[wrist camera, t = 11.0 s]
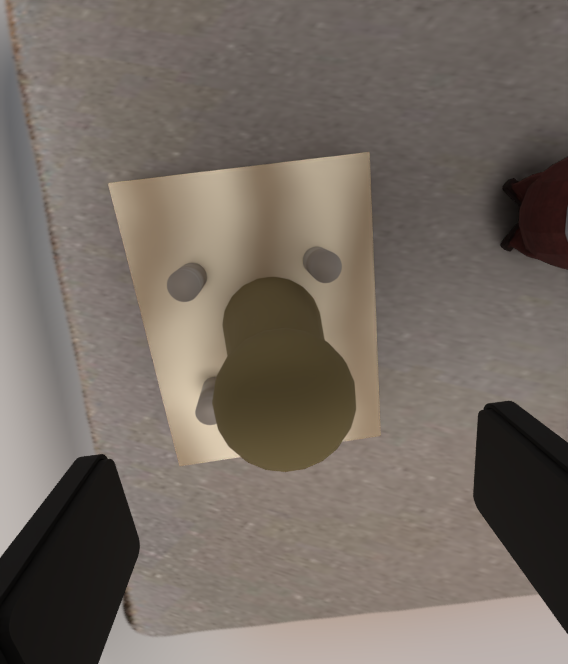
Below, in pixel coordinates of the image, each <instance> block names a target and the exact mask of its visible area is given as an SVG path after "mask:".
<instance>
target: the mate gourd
mask: <svg viewBox="0 0 568 664" xmlns="http://www.w3.org/2000/svg"><path fill="white" fill-rule="evenodd" d="M503 190H504V191H505V192H506V193H507V194H508V195H509V196H510V197H511V198H512V199H513V200H514V201H515V202H516V203H517V204H518V205H519V206H520V209H519V222H518V223H517V224H516V226H515V227H514V228H513V229H512V230H511V231H510V233H509V234H508V235H507V236H506V237H505V238H504V240H503V241H502V242H501V244H500V245H501V247H502V248H503V249H504V250H507V251H511V250H512V249H513V248H515V249H517V250H518V251H519V252H521V253H523V254H524V255H526V256H528V257H531V258H535V259H538V260H541V261H543V262H546V263H548V264H550V265H553V266H556V267H560V268H563V269H567V270H568V157H566V158H565V159H563V160H561V161H559V162H557V163H555V164H553V165H552V166H550V167H549V168H548V169H546V170H545V171H544V172H540V173H537V174H533V175H531V176H529V177H527V178H525V179H523V180H521V181H519V182H518V181H517V180H516V179H515V178H513V179H510V180H508V181H507V182H506V183H505V184H504V186H503Z"/></svg>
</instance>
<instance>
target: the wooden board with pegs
mask: <svg viewBox="0 0 568 664" xmlns="http://www.w3.org/2000/svg"><path fill="white" fill-rule="evenodd" d="M108 185H109V189H110V193H111V197H112V201H113V205H114V209H115V213H116V217H117V221H118V225H119V229H120V232H121V236H122V240H123V244H124V248H125V252H126V256H127V260H128V264H129V268H130V272H131V276H132V280H133V284H134V288H135V292H136V296H137V300H138V304H139V308H140V312H141V316H142V320H143V324H144V327H145V331H146V335H147V339H148V343H149V347H150V351H151V355H152V359H153V363H154V367H155V371H156V375H157V379H158V383H159V387H160V391H161V395H162V399H163V403H164V407H165V411H166V415H167V419H168V422H169V426H170V430H171V434H172V438H173V442H174V446H175V450H176V454H177V458H178V462H179V466H184V465H191V464H197V463H204V462H211V461H217V460H224V459H230V458H237V457H240V456H239V455H238V454H237V453H236V452H234V451H233V450H232V449H231V448H229V447H228V445H227V443H226V442H225V440H224V439H223V437H222V435H221V434H220V432H219V430H218V427H217V424H216V419H215V414H214V410H213V405H212V400H213V393H214V387H215V381H216V377H217V374H218V372H219V371H220V369H221V367H222V365H223V363H224V361H225V360H226V358H227V351H226V345H225V338H224V332H223V326H222V324H223V318H224V311H225V309H226V307H227V305H228V303H229V301H230V299H231V297H232V296H233V295H234V294H235V293H236V292H237V291H238V290H239V289H240V288H241V287H242V286H243V285H245V284H248V283H250V282H252V281H254V280H256V279H259V278H266V277H279V278H284V279H290V280H291V281H293V282H295V283H297V284H299V285H301V286H302V287H304V288H305V289H306V290H307V292H308V293H309V294H310V295H311V296H312V297H313V298H314V300H315V302H316V305H317V307H318V309H319V311H320V316H321V322H322V328H323V333H324V339H325V341H327V342H328V343H329V344H330V345H331V346H332V347H333V348H334V349H335V350H336V351H337V352H338V353H339V354H340V355H341V356H342V358H343V359H344V360H345V362H346V364H347V366H348V368H349V370H350V373H351V375H352V377H353V379H354V382H355V395H356V413H355V416H354V420H353V423H352V427H351V429H350V431H349V432H348V434H347V435H346V436H345V438H344V439H343V441H350V440H356V439H363V438H369V437H376V436H381V432H380V406H379V381H378V355H377V330H376V304H375V279H374V253H373V228H372V202H371V177H370V152H365V153H357V154H348V155H340V156H332V157H323V158H315V159H306V160H298V161H290V162H281V163H273V164H264V165H256V166H248V167H239V168H231V169H222V170H214V171H206V172H197V173H189V174H181V175H172V176H164V177H155V178H147V179H139V180H130V181H122V182H113V183H108ZM343 441H342V442H343Z"/></svg>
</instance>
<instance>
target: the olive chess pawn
mask: <svg viewBox="0 0 568 664" xmlns="http://www.w3.org/2000/svg"><path fill="white" fill-rule="evenodd" d="M222 326H223V332H224V338H225V345H226V351H227V358H226V360H225V361H224V363H223V365H222V367H221V369H220V371H219V372H218V374H217V377H216V381H215V387H214V393H213V400H212V405H213V410H214V414H215V419H216V424H217V427H218V430H219V432H220V434H221V435H222V437H223V439H224V440H225V442H226V443H227V445H228V447H229V448H231V449H232V450H233V451H234V452H236V453H237V454H238V455H239V456H240V457H242V458H243V459H244V460H245V461H247V462H248V463H251V464H253V465H255V466H258V467H260V468H263V469H265V470H272V471H281V472H288V471H295V470H301V469H306V468H308V467H310V466H312V465H315V464H317V463H319V462H321V461H323V460H324V459H325V458H327V457H328V456H329V455H330V454H332V453H333V452H334V451H335V450H336V449H337V448H338V447H339V445H340V444H341V442H342V441H343V439H344V438H345V436H346V435H347V434H348V432H349V431H350V429H351V427H352V423H353V420H354V416H355V413H356V395H355V382H354V379H353V377H352V375H351V373H350V370H349V368H348V366H347V364H346V362H345V360H344V359H343V358H342V356H341V355H340V354H339V353H338V352H337V351H336V350H335V349H334V348H333V347H332V346H331V345H330V344H329V343H328V342H327V341H325V339H324V333H323V328H322V322H321V316H320V311H319V309H318V307H317V305H316V302H315V300H314V298H313V297H312V296H311V295H310V294H309V293H308V292H307V290H306V289H305V288H304V287H302V286H301V285H299V284H297V283H295V282H293V281H291V280H290V279H284V278H279V277H266V278H259V279H256V280H254V281H252V282H250V283H248V284H245V285H243V286H242V287H241V288H240V289H239V290H238V291H237V292H236V293H235V294H234V295H233V296H232V297H231V299H230V301H229V303H228V305H227V307H226V309H225V311H224V318H223V324H222Z"/></svg>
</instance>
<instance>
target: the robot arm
mask: <svg viewBox="0 0 568 664" xmlns="http://www.w3.org/2000/svg"><path fill="white" fill-rule="evenodd" d="M473 497H474V501H475V504H476V506H477V508H478V510H479V512H480V513H481V514H482V516H483V517H484V519H485V520H486V521H487V523H488V524H489V526H490V527H491V528H492V530H493V531H494V532H495V534H496V535H497V537H498V538H499V539H500V541H501V542H502V544H503V545H504V546H505V548H506V549H507V551H508V552H509V553H510V555H511V556H512V557H513V559H514V560H515V562H516V563H517V564H518V566H519V567H520V569H521V570H522V571H523V573H524V574H525V576H526V577H527V578H528V580H529V581H530V583H531V584H532V585H533V587H534V588H535V589H536V591H537V592H538V594H539V595H540V596H541V598H542V599H543V600H544V602H545V603H546V605H547V606H548V607H549V609H550V610H551V612H552V613H553V614H554V616H555V617H556V618H557V620H558V621H559V623H560V624H561V626H562V627H563V628H564V630H565V631H566V633H567V634H568V443H567V442H566V441H565V440H564V439H562V438H561V437H560V436H558V435H557V434H556V433H554V432H553V431H552V430H550V429H549V428H548V427H546V426H545V425H544V424H542V423H541V422H540V421H538V420H537V419H536V418H534V417H533V416H532V415H530V414H529V413H528V412H526V411H525V410H524V409H523V408H521V407H520V406H519V405H517V404H516V403H514V402H512V401H503V402H496V403H488V404H486V405H485V407H484V410H481V411H480V412H479V413H478V424H477V441H476V457H475V474H474V490H473ZM139 549H140V542H139V537H138V534H137V531H136V528H135V525H134V522H133V518H132V515H131V512H130V509H129V506H128V503H127V500H126V497H125V494H124V490H123V487H122V484H121V481H120V478H119V475H118V472H117V469H116V466H115V463H114V461H113V460H112V459H108V458H107V457H106V456H105V455H103V454H99V455H91V456H84V457H79V458H77V459H76V460H75V461H74V463H73V464H72V465H71V467H70V468H69V469H68V471H67V472H66V473H65V475H64V476H63V477H62V478H61V480H60V481H59V483H57V485H56V486H55V488H54V489H53V490H52V491H51V493H50V494H49V495H48V496H47V498H46V499H45V501H44V502H43V503H42V504H41V506H40V507H39V508H38V510H37V511H36V512H35V513H34V515H33V516H32V517H31V519H30V520H29V521H28V522H27V524H26V525H25V526H24V528H23V529H22V530H21V532H20V533H19V534H18V535H17V537H16V538H15V539H14V541H13V542H12V543H11V545H10V546H9V547H8V549H7V550H6V551H5V552H4V554H3V555H2V556H1V558H0V664H98V663H99V660H100V657H101V655H102V652H103V649H104V646H105V644H106V641H107V638H108V636H109V633H110V630H111V628H112V625H113V622H114V620H115V617H116V614H117V611H118V609H119V606H120V603H121V601H122V598H123V595H124V593H125V590H126V587H127V585H128V582H129V579H130V576H131V574H132V571H133V568H134V566H135V563H136V560H137V558H138V554H139Z"/></svg>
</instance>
